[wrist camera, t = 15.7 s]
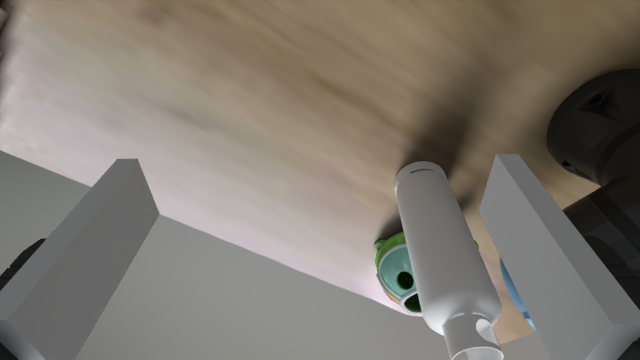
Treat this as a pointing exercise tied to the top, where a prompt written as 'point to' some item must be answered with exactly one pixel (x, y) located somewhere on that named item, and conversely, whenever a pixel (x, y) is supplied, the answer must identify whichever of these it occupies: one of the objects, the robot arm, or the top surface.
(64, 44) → the top surface
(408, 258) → the turtle holder
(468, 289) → the bottle
